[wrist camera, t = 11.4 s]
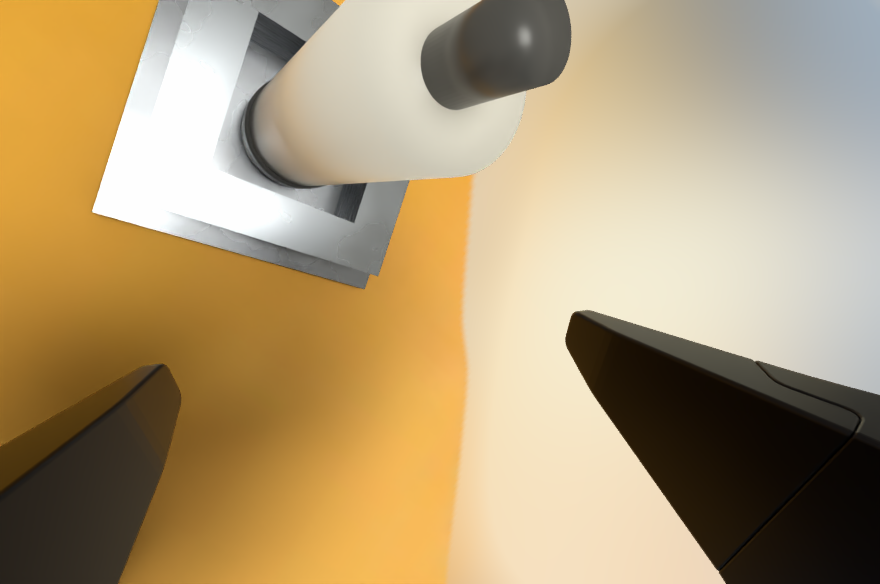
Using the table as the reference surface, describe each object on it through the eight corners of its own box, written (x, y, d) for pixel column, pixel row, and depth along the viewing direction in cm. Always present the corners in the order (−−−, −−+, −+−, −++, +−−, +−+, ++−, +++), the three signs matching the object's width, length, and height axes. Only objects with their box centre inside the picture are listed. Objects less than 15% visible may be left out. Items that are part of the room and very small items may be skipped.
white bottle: (300, 209, 20) (533, 232, 7) (215, 136, 17) (349, -19, 5) (357, 141, 21) (648, 60, 8) (283, 62, 18) (547, -229, 6)
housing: (360, 287, 23) (389, 300, 20) (94, 211, 16) (79, 215, 13) (425, 88, 23) (463, 73, 20) (185, -78, 16) (191, -140, 13)
